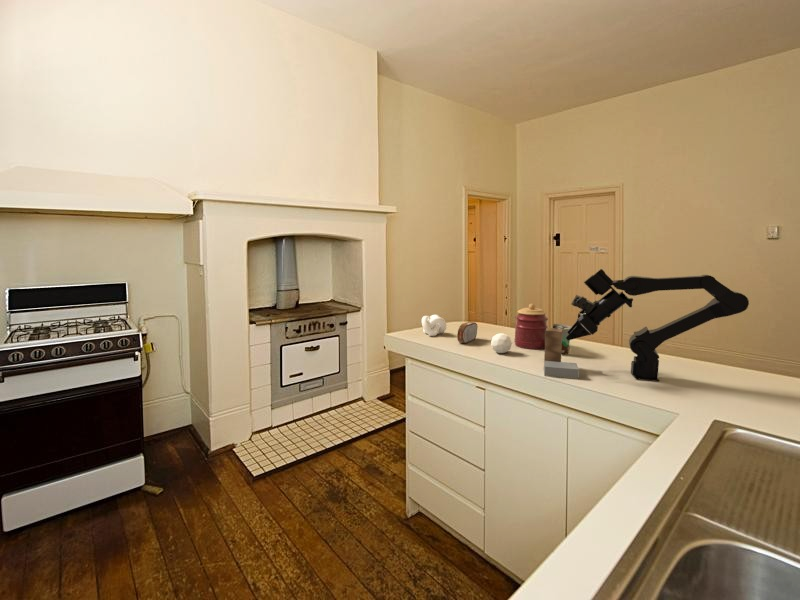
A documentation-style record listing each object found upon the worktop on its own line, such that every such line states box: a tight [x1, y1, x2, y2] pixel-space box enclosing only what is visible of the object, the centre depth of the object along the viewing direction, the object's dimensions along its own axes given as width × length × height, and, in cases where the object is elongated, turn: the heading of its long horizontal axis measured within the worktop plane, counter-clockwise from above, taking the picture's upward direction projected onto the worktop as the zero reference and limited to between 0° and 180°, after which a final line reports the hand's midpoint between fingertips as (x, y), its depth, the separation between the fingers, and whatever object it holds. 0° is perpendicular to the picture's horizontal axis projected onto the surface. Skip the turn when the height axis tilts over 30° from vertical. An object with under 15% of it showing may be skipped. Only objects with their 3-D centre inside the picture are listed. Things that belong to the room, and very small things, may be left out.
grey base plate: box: [543, 361, 580, 380], centre depth 131 cm, size 10×7×3 cm
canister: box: [514, 303, 549, 350], centre depth 167 cm, size 13×13×18 cm
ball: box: [490, 333, 513, 354], centre depth 157 cm, size 8×8×8 cm
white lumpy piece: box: [421, 314, 448, 337], centre depth 190 cm, size 11×12×9 cm
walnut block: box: [543, 327, 563, 362], centre depth 138 cm, size 5×5×13 cm
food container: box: [552, 323, 572, 356], centre depth 158 cm, size 12×6×10 cm, turn 168°
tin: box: [456, 321, 479, 344], centre depth 176 cm, size 15×3×8 cm, turn 144°
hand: (567, 336), depth 136 cm, fingers open, 9 cm apart
